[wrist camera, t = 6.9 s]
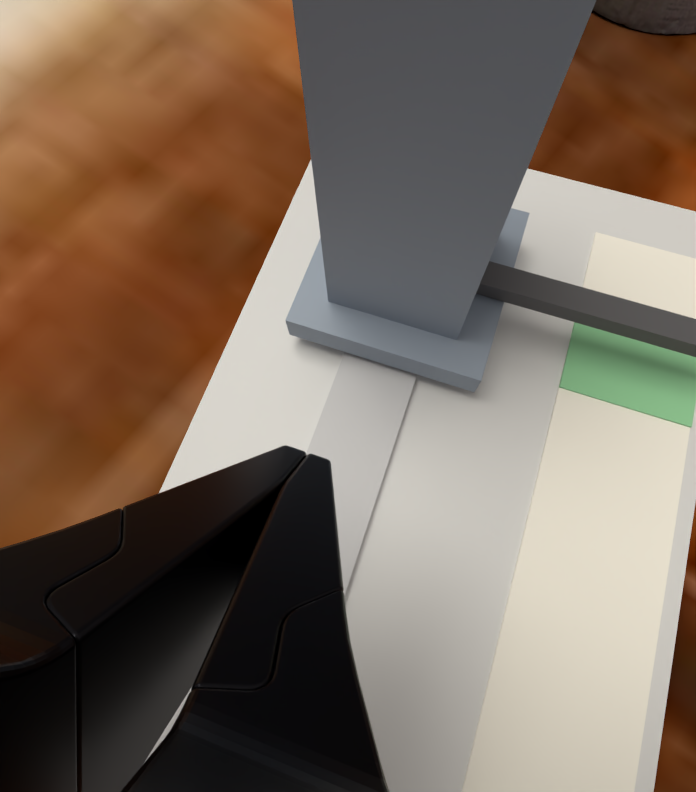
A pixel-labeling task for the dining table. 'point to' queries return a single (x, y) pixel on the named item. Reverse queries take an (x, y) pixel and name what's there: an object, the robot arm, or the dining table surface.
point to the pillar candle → (651, 14)
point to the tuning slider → (436, 180)
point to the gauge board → (495, 504)
